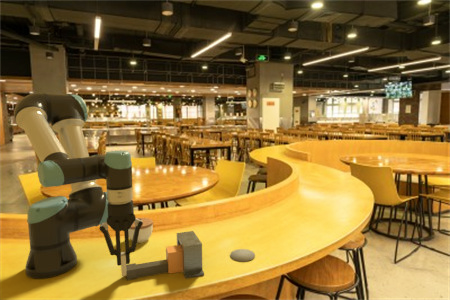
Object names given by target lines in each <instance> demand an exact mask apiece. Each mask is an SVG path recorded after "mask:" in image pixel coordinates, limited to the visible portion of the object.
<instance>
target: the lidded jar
mask: <svg viewBox="0 0 450 300" xmlns="http://www.w3.org/2000/svg"><path fill="white" fill-rule="evenodd" d="M136 218H137V219H139V220H140V219H141V220H142V222H143V225H142V226H141V228H140V230H139V235H138V240H137V244H143V243H146V242H148V240H149V239H150V237H151V236H152V233H153V229H154V227H153V226H154V221H153V219H151V218H149V217H136ZM134 231H135V222H134V223H133V224H132V226H131V227H130V229H128V234H129V240H131V241H132V240H133V235H134Z"/></svg>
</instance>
